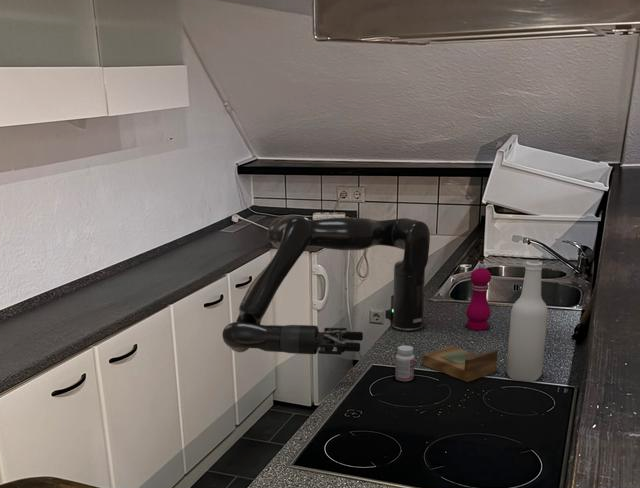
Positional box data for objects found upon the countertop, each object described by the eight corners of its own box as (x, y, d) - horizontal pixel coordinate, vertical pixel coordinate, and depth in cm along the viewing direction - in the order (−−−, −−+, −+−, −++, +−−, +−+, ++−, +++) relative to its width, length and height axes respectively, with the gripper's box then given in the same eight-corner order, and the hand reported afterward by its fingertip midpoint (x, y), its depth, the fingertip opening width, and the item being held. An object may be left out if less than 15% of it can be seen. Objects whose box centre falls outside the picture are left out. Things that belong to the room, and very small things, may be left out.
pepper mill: (485, 332, 230) (490, 267, 223) (462, 328, 234) (466, 264, 226) (492, 325, 236) (497, 262, 228) (469, 322, 239) (473, 259, 232)
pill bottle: (413, 382, 196) (414, 351, 192) (394, 381, 196) (395, 350, 193) (414, 375, 200) (415, 345, 197) (395, 374, 201) (396, 344, 198)
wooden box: (422, 364, 207) (423, 343, 205) (450, 355, 213) (451, 335, 210) (467, 382, 194) (468, 360, 192) (496, 372, 200) (497, 350, 198)
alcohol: (541, 383, 192) (553, 267, 181) (505, 380, 195) (515, 265, 184) (541, 370, 200) (552, 258, 189) (506, 368, 203) (515, 257, 192)
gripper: (294, 334, 191) (359, 336, 189) (303, 317, 204) (363, 319, 202) (295, 362, 194) (359, 365, 191) (303, 343, 207) (363, 346, 204)
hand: (361, 341), depth 196 cm, fingers open, 8 cm apart
